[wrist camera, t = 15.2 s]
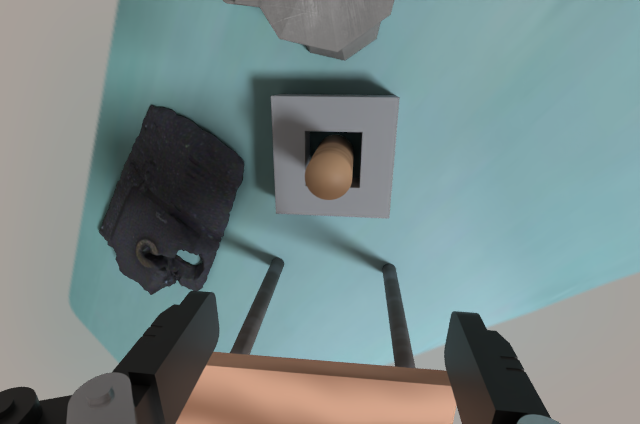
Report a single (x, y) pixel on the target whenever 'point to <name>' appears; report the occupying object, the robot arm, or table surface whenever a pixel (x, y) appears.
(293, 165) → the socket
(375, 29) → the coffeepot
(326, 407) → the small wooden table
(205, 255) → the dark slate chunk
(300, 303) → the table surface
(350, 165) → the peg
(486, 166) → the table surface
